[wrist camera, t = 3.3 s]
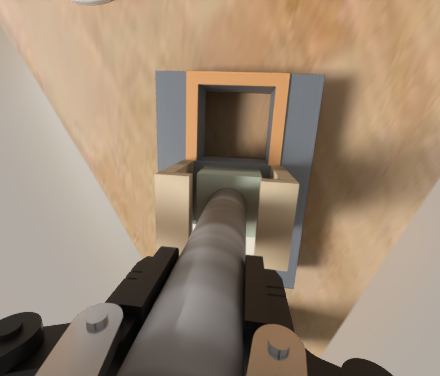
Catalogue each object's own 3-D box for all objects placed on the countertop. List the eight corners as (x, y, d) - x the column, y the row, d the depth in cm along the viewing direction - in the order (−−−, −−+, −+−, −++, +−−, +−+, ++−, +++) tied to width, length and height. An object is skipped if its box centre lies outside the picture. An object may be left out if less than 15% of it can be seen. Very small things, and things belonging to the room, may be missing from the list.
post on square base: (205, 166, 21) (47, 307, 5) (259, 169, 21) (310, 342, 4) (203, 216, 23) (76, 473, 6) (255, 221, 22) (279, 516, 5)
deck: (170, 80, 24) (154, 70, 20) (311, 83, 22) (325, 74, 18) (171, 254, 29) (159, 275, 25) (286, 266, 27) (293, 290, 23)
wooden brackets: (183, 159, 21) (154, 174, 15) (282, 165, 21) (299, 183, 14) (183, 219, 23) (156, 257, 16) (275, 227, 22) (287, 271, 15)
